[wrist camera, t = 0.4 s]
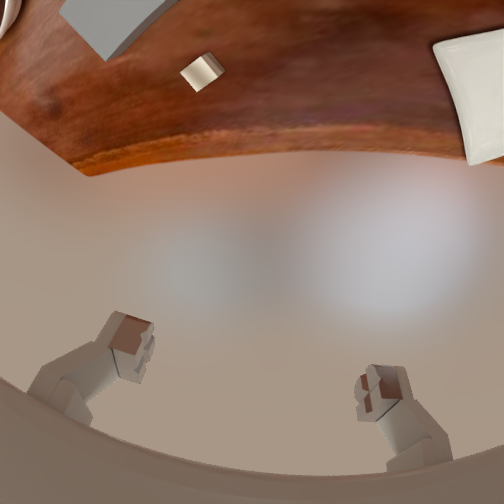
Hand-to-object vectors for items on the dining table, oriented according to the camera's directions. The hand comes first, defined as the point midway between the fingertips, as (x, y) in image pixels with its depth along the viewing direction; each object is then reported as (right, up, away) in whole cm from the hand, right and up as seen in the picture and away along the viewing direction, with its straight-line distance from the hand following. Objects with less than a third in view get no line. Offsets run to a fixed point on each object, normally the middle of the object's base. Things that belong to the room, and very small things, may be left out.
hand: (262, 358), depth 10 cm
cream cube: (-9, +38, +37) cm, 54 cm away
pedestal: (-25, +52, +25) cm, 63 cm away
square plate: (+48, +36, +24) cm, 65 cm away
